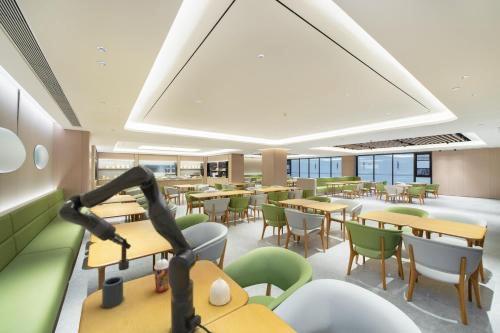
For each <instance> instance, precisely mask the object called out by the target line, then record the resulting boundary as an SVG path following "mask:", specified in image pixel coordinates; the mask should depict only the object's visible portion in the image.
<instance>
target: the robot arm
mask: <svg viewBox="0 0 500 333" xmlns="http://www.w3.org/2000/svg"><path fill="white" fill-rule="evenodd" d="M135 187H138V188H139V189H140V191H141V192H142V194H143V197H144V199H145V202H146V209H147V216H148V219H149V221H150V223H151V225H152V228H153V229H154V230H155V232H156V233H157V234H158V235H159V236H160V237H162V238H163V239H164V240H165V241H167V242H168V244H169V245H170V246H171V248H172V250H173V252H174V255H173V256H171V258H170V260H168V262H169V266H168V273H169V288H170V333H193V332H194V331H195V330H196V329H197V327H198V328H201V329H202V330H203V331H205V332H206V333H213V332H212V331H210V330H209V329H208V328H207V327H206V326H204V325H202V316H201V315H199V314H196V307H195V306H194V287H195V286H194V280H193V279H192V278H190V274H191V273H190V272H191V270H192V269H193V268H194V267H195V265H196V263H197V257H196V254H195V252H194V250H193V248H192V247H191V245H190V244H189V242H188V241H187V239H186V238H185V236H184V233H183V232H182V230H181V227H180V226H179V224H178V222H177V220H176V218H175V216H174V214H173V211H172V210H171V207H170V206H169V204H168V202H167V200H166V198H165V197H164V195H163V193H162V191H161V189H160V186H159V184H158V181H157V178H156V175H155V172H154V171H153V170H152V169H151V168H149V167H147V166H143V165H134V166H132V167H129V168H128V169H127V170H125V171H124V172H122V173H121V174H120V175H117V176H116V177H114V178H113V179H111V180H110V181H107V182H105V183H104V184H102V185H100V186H97V187H95V188H93V189H90V190H88V191H87V192H84V193H79V194H75V195H72V196H69V197H68V198H66V199H65V200H63V203H62V204H61V206H60V208H59V209H58V211H57V215H58V217H59V218H60V219H61V220H62V221H64V222H67V223H70V224H73V225H76V226H80V227H82V228H83V229H85V230H86V231H88V232H89V234H91V235H92V236H94V237H96V238H97V239H99V240H100V241H102V242H106V241H110V242H112V243H113V244H116V245H118V246H121V247H122V246H123V247H125V248H126V250H130V248H131V247H132V245H131V244H130V243H129V242H128V241H126V240H125V239H126V238H125V237H124V238H123V237H122V236H121V235H120V234H119V233H116V230H117V228H116V227H115V226H114V225H113V224H112V223H110V222H108V221H107V220H106V219H104V218H103V217H100V216H99V215H98V214H97V213H95V212H93V211H86V212H84V213H83V212H82V209H83V208H86V209H91V208H95V207H97V206H99V205H101V204H103V203H105V202H107V201H109V200H110V199H112V198H113V197H115V196H116V195H118V194H119V193H121V192H123V191H125V190H128V189H131V188H135Z"/></svg>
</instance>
